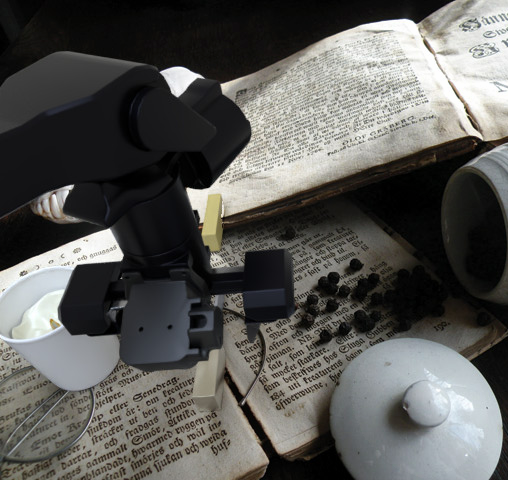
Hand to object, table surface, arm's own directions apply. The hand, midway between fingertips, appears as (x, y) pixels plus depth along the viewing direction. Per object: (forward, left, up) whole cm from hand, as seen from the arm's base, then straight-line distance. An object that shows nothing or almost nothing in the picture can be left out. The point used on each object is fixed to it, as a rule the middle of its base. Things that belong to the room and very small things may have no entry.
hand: (204, 343), depth 46 cm
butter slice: (+19, +20, -11) cm, 30 cm away
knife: (+5, +6, -11) cm, 13 cm away
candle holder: (-6, +17, -11) cm, 22 cm away
